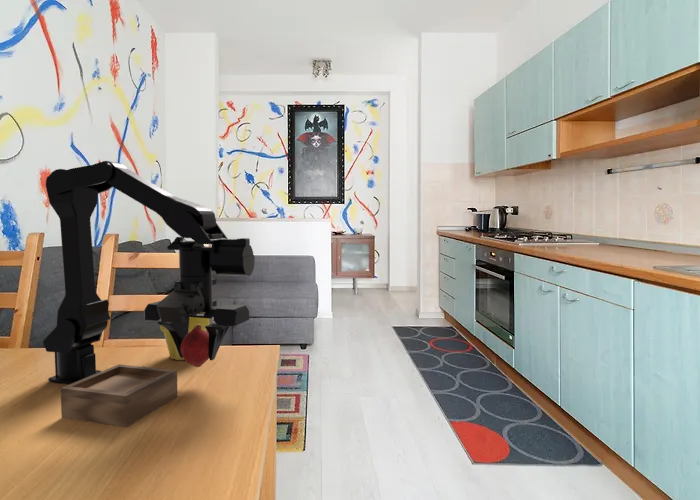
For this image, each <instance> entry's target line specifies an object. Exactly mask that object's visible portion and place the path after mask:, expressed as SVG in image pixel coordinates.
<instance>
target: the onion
mask: <svg viewBox="0 0 700 500" xmlns="http://www.w3.org/2000/svg"><path fill="white" fill-rule="evenodd" d="M201 327H202V326H201V325H200V324H197V325H195V327H194V328H193V330H192V331H190V332H189V333H188V334H187V335H186V336H185V338H184V339H183V341H182V343H181V348H180V350H181V354H182V356H183V358H184V360H183V361H186V362H187V363H188V364H189V365H191V366H193V367H195V368H200V367H202V366H203V364H205V362H207V361H208V360H210V359H209V333H208V331H206V332H205V331H204V330H202V329H201Z"/></svg>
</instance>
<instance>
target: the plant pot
mask: <svg viewBox="0 0 700 500" xmlns="http://www.w3.org/2000/svg"><path fill="white" fill-rule="evenodd" d="M200 313H202V312H200ZM203 313H204V312H203ZM197 324H200V325H201V326H202V327H201V329H202V330H204V331H205V332H207V330H206V328H205V326H207V325H210V318H196V317H189V329H188V333H189V332H190V331H192V330H193V328H194V327H195V325H197ZM159 327H160V331H161V332H163V336H164V338H165V339H164V340H165V342H166V345H167V350H168V354H169V357H170V359H171V360H174V359H175V361H185V360H184V358H181V357H180V355H179V353H178V350H177V348H176V345H175V343H174V340H173V338H172V336H171V334H170V332H169V331H168V330H167V329H166V328H165V327H163V326H162V325H159Z"/></svg>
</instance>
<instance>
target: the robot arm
mask: <svg viewBox="0 0 700 500" xmlns="http://www.w3.org/2000/svg"><path fill="white" fill-rule="evenodd" d="M112 188H114V189H116V190H117V191H119V192H121V193H122V194H124V195H126V196H127V197H129V198H131V199H133V200H134V201H136V202H137V203H139V204H141V205H142V206H144V207H146V208H148V209H149V210H151V211H153V212H154V213H156V214H157V215H158V216H159V217H161V219H162V220H163V222H164V223H165V224H166V226H168V227H169V229H171V230H172V231H173V232H175V233H176V234H177V235H178V236H176V237H175V239H174V240H173V241H172V242H171V243H170V244H168V245H167V246H166V249H167V250H168V251H178V258H179V259H178V262H179V263H178V265H179V267H178V268H179V277H178V278H179V280H177V281H174V285H173V292H172V293H169V294H167V295H166V296H165V297H164V298H163V299H161V300H158V301H154V302H151V303H147V305H146V306H145V307H144V311H143V317H144V318H143V319H144V320H145V321H153V322H155V321H156V323H157V324H158V326H160V325H162V326H163V327H165V328H166V329H167V330H168V331H169V332H170V334H171V336H172V338H173V340H174V343H175V345H176V348H177V350H178V353H179V355H180V357H181V358H183V356H182V354H181V350H180V348H181V343H182V341H183V339H184V338H185V336H186V335H187V334H188V329H189V317H196V318H209V319H211V323H209V325H207V326H205V328H206V332H207V333H208V334H209V359H208V360H209V361H214V360H215V358H216V356H217V354H218V351H219V350H220V347H221V344H222V342H223V340H224V337H225V335H226V334H227V332H228V330H229V329H230V327H235V326H238V325H241V324H243V323H245V322H248V321H250V310H249V308H248V307H247V305H245V304H231V303H229V304H226V305H223V306H220V307H217V300H215V299H213V298H214V297H213V295H214V294H213V290H214V289H213V286H214V285H217V278H213V272H215V273H216V275H217V276H229V277H230V276H232V277H250V276H251V275H252V274H253V272H254V268H255V263H256V261H255V260H256V257H255V255H254V251H253V248H252V246H251V244H250V243H251V241H250V240H251V239H250V238H249V237H248V238H247V237H241V238H236V239H235V238H228V237H227V236H226V234H225V233H224V232H223V230H222V229H221V227H220V225H219V224H218V223H217V218H216V214H215V212H214V211H213V210H212V209H211V208H209V207H207V206H204V205H201V204H199V203H195V202H193V201H190V200H187V199H183V198H180V197H177V196H175V195H173V194H171V192H170V193H169V192H168V191H166V190H164V189H163V188H161V187H159V186H158V185H156V184H154V183H153V182H151V181H149V180H148V179H146V178H144V177H142V176H140V175H139V174H137V173H136V172H135V171H132V170H131V169H129V168H128V167H126V165H124V164H122V163H119V162H115V161H110V160H103V161H100V162H96V163H94V164H91V165H86V166H85V165H84V166H78V167H73V168H69V169H65V168H59V169H55V170H53V171H52V172H51V173H50V174H49V175H48V176H47V177H46V179H45V190H46V194H47V198H48V203H49V204H50V206H51V207H52V209H53V211H54V212H55V213H56V215H57V217H59V225H60V238H61V252H62V264H63V280H64V281H63V282H64V292H65V294H64V297H63V299H62V300H61V303H60V305H59V307H58V309H57V313H56V324H55V325H56V326H55V327H54V328H53V330H52V331H50V333H49V334H48V335H47V336H46V337H45V338H44V339H43V341H42V344H43V346H44V349H45V351H46V352H48V353H54V366H55V367H54V368H55V369H54V370H55V371H54V372H55V375H53V376H50V377H48V379H47V380H48V382H56V383H62V384H63V383H64V384H69V385H70V384H72V383H74V382H77V381H79V380H82V379H84V378H87V377H89V376H92V375H94V374H97V373H99V372H101V371H102V370H99V369H97V364H96V360H97V359H96V353H95V345H94V344H93V343H97V342H100V341H101V337H102V336H103V335H102V334H103V332H104V331H105V330H106V329H107V327H108V323H109V322H108V321H109V320H111V316H110V314H109V305H110V303H109V300H108V299H101V298H100V296H99V295H98V293H97V292H96V283H95V271H94V270H95V269H94V268H95V267H94V256H93V241H92V227H91V226H92V225H91V217H92V215H93V213H94V211H95V209H96V207H97V204H98V199H99V194H102V193H105V192H107V191H110V190H111V189H112ZM187 239H191V240H187ZM205 245H211V246H205ZM214 307H216V308H214ZM200 312H202V313H200ZM203 312H204V313H203ZM157 321H158V322H157Z"/></svg>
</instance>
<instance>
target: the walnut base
mask: <svg viewBox="0 0 700 500" xmlns="http://www.w3.org/2000/svg"><path fill="white" fill-rule="evenodd" d="M100 371H101V372H99V373H97V374H94V375H92V376H89V377H87V378H84V379H82V380H79V381H77V382H74V383H72V384H70V383H69V384H67V385H65V386H63V387H60V405H61V407H60V410H61V418H62V419H65V420H66V419H67V420H73V421H80V422H88V423H95V424H101V425H107V426H108V425H109V426H117V427H123V428H128V427H130V426H131V425H133V424H135V423H136V422H138V421H139V420H141V419H143V418H145V417H146V416H149V414H152V413H153V412H154V411H157V410H158V409H159V408H162V407H163V406H164V405H166V404H168V403H170V402H171V401H173V400H175V399H177V398H178V370H176V369H170V368H169V369H168V368H158V367H147V366H140V365H130V364H128V365H127V364H119V363H118V364H115V365H114V366H111V367H109V368H106V369H103V370H100Z"/></svg>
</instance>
